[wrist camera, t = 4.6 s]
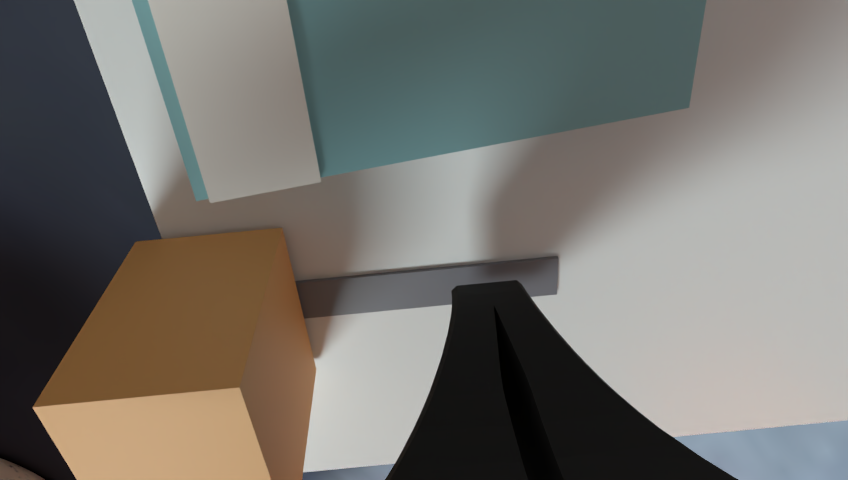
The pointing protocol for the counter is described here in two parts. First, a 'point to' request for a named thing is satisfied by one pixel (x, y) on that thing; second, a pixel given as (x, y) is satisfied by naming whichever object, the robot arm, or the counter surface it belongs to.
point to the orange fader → (189, 367)
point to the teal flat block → (401, 78)
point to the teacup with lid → (16, 472)
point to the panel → (570, 238)
